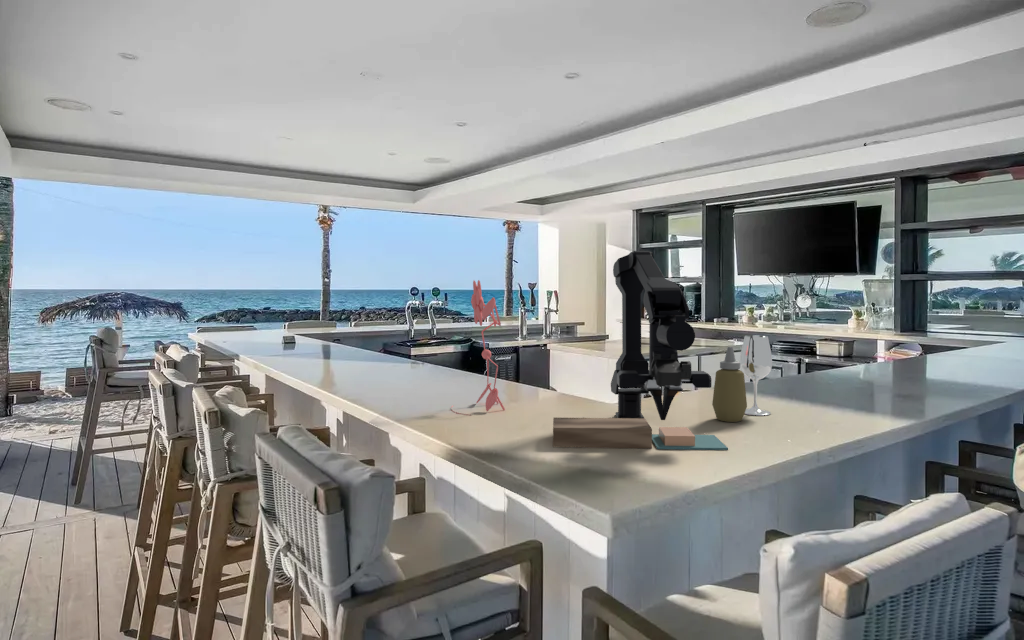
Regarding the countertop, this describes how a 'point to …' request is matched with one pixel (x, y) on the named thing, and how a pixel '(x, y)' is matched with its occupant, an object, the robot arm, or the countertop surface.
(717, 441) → the mat
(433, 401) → the countertop surface
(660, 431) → the tile
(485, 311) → the figurine
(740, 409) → the squeeze bottle
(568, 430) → the platform
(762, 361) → the wineglass
